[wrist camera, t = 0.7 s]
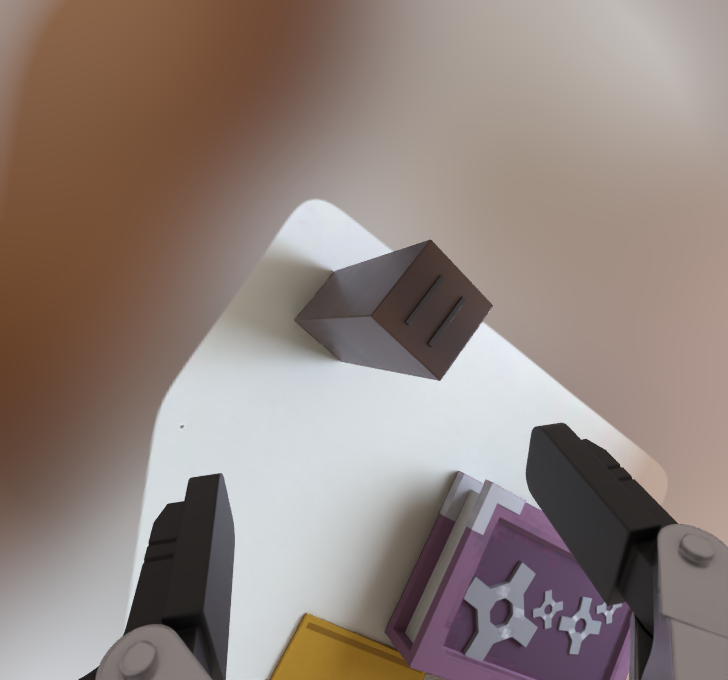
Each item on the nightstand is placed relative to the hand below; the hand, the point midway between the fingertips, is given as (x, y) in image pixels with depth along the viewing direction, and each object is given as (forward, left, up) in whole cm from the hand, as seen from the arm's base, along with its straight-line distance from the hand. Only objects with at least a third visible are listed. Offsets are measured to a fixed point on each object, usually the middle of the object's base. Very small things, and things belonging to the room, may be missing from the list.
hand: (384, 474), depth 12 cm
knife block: (+7, +6, -28) cm, 29 cm away
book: (+32, -16, -28) cm, 45 cm away
